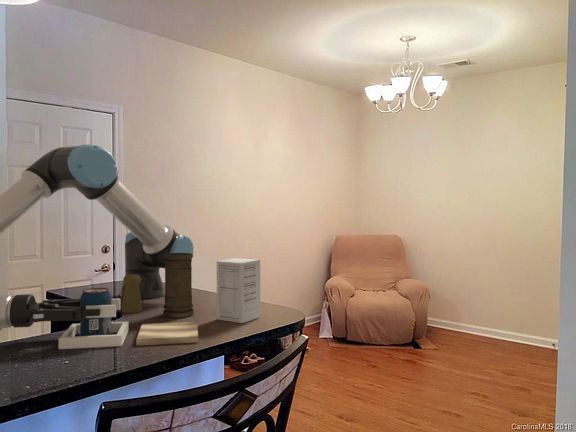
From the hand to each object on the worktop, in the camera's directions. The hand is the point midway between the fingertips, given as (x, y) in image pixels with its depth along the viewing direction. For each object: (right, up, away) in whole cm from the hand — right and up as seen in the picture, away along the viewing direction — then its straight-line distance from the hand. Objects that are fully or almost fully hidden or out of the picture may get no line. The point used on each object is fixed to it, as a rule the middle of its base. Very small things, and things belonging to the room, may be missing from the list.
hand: (117, 307), depth 115 cm
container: (+9, -7, +26) cm, 28 cm away
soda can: (-5, -8, -1) cm, 9 cm away
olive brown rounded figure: (-7, -7, +30) cm, 32 cm away
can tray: (-5, -7, -1) cm, 9 cm away
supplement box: (+27, -7, +21) cm, 35 cm away
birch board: (+12, -8, +3) cm, 14 cm away
